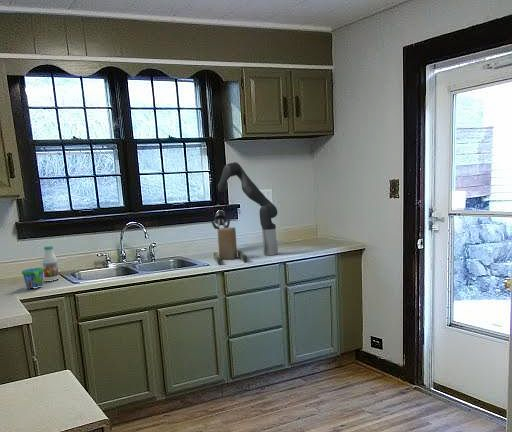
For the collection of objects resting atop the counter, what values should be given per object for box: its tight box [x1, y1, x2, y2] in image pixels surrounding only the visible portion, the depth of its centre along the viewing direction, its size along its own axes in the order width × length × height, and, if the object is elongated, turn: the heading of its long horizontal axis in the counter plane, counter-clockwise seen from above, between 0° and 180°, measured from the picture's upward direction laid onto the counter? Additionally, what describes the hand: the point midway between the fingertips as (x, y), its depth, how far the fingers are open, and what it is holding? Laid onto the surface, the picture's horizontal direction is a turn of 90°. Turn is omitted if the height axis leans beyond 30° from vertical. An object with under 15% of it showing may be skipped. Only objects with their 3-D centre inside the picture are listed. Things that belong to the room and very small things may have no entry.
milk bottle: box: [42, 245, 60, 281], centre depth 267 cm, size 8×8×20 cm
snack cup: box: [21, 267, 44, 289], centre depth 250 cm, size 16×10×10 cm
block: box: [217, 226, 238, 261], centre depth 305 cm, size 10×10×20 cm
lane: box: [213, 249, 248, 266], centre depth 298 cm, size 18×26×4 cm
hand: (222, 232), depth 326 cm, fingers open, 3 cm apart
